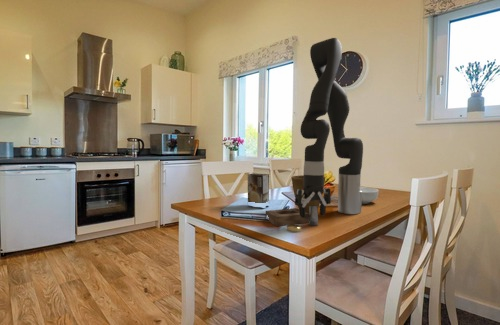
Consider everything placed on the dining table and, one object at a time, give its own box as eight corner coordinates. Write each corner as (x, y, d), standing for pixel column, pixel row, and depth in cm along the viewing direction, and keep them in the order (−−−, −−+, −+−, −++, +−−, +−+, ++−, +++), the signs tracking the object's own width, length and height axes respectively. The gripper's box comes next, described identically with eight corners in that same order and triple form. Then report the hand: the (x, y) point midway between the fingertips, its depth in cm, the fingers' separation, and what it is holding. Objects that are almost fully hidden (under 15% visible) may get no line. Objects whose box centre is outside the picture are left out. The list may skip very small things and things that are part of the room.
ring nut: (296, 227, 101) (296, 223, 101) (304, 232, 96) (304, 227, 96) (284, 229, 99) (284, 225, 99) (291, 233, 94) (291, 229, 94)
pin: (314, 223, 106) (314, 205, 106) (319, 225, 103) (319, 207, 103) (307, 223, 105) (307, 205, 104) (312, 226, 102) (312, 207, 101)
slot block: (295, 216, 116) (295, 208, 116) (309, 222, 107) (309, 213, 107) (265, 219, 111) (265, 210, 111) (276, 226, 102) (276, 217, 102)
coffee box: (269, 206, 134) (270, 174, 133) (263, 209, 129) (263, 175, 128) (254, 204, 139) (254, 172, 138) (247, 206, 134) (247, 174, 133)
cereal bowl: (346, 198, 156) (346, 185, 156) (378, 200, 149) (378, 187, 148) (342, 203, 141) (342, 190, 141) (377, 207, 134) (378, 192, 133)
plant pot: (325, 209, 129) (325, 175, 128) (323, 217, 115) (324, 179, 114) (293, 207, 133) (294, 174, 132) (288, 214, 119) (288, 177, 118)
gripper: (323, 172, 109) (322, 212, 110) (292, 172, 104) (291, 215, 105) (335, 173, 102) (334, 217, 103) (302, 174, 97) (301, 220, 98)
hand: (312, 216), depth 104 cm, fingers open, 8 cm apart
